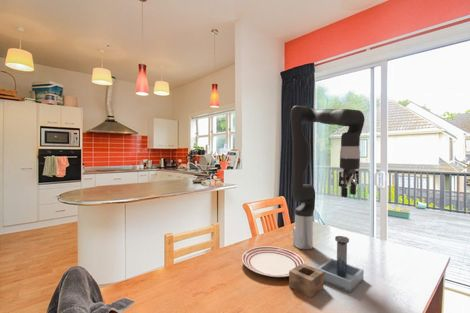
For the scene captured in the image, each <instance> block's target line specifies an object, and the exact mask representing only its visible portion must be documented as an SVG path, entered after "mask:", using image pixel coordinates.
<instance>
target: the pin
mask: <svg viewBox="0 0 470 313" xmlns="http://www.w3.org/2000/svg"><path fill="white" fill-rule="evenodd" d="M334 240H335V241H336V260H337V276H340V277H343V278H345V277H346V276H347V264H348V263H347V261H348V260H347V258H348V252H347V251H348V243H350V238H348V237H346V236H342V235H337V236H335V237H334Z"/></svg>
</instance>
